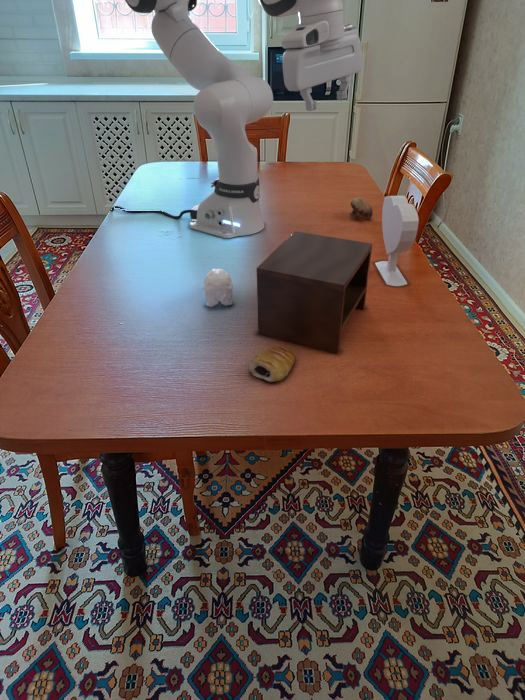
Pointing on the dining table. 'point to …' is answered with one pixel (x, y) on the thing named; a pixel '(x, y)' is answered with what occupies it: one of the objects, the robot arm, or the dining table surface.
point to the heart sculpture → (397, 236)
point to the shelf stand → (312, 289)
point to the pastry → (273, 363)
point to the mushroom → (360, 209)
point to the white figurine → (218, 287)
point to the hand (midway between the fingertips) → (327, 104)
